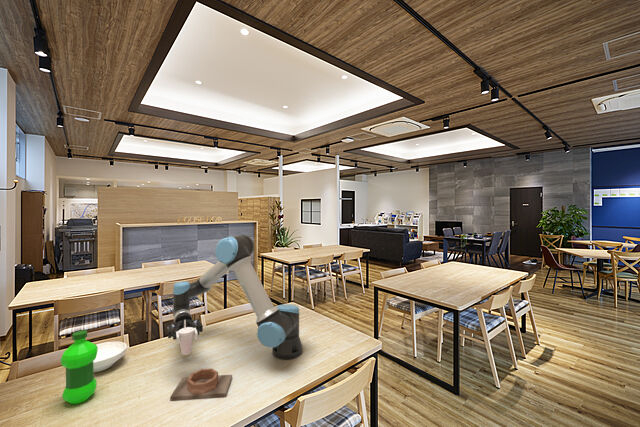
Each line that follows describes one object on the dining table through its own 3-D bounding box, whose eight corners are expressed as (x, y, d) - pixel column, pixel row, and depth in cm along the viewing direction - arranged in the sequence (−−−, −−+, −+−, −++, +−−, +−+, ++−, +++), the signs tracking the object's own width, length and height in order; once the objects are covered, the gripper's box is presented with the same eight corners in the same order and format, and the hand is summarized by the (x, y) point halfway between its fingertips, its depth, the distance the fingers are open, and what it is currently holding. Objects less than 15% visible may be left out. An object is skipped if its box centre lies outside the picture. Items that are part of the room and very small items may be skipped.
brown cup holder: (232, 378, 118) (232, 366, 118) (225, 397, 106) (225, 383, 106) (182, 381, 116) (182, 369, 115) (170, 400, 104) (170, 387, 104)
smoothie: (181, 349, 122) (181, 317, 122) (196, 348, 123) (196, 317, 122) (175, 356, 116) (175, 323, 116) (191, 356, 116) (191, 322, 116)
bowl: (64, 385, 112) (64, 368, 112) (79, 362, 130) (79, 346, 130) (123, 372, 121) (123, 356, 121) (129, 352, 139) (129, 338, 139)
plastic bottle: (73, 412, 98) (73, 341, 97) (55, 404, 101) (54, 336, 101) (104, 394, 107) (103, 329, 107) (86, 388, 111) (85, 325, 110)
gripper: (204, 323, 139) (212, 342, 119) (160, 331, 130) (160, 353, 110) (204, 308, 139) (212, 324, 119) (160, 315, 130) (160, 334, 110)
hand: (187, 338), depth 115 cm, fingers closed on smoothie, 6 cm apart
